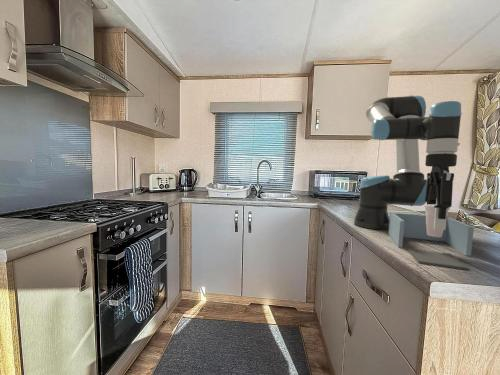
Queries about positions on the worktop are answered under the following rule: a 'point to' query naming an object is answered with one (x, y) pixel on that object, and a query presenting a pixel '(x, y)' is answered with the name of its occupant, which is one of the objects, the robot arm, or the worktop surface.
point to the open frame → (416, 227)
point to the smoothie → (432, 220)
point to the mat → (437, 259)
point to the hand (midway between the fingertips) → (435, 226)
